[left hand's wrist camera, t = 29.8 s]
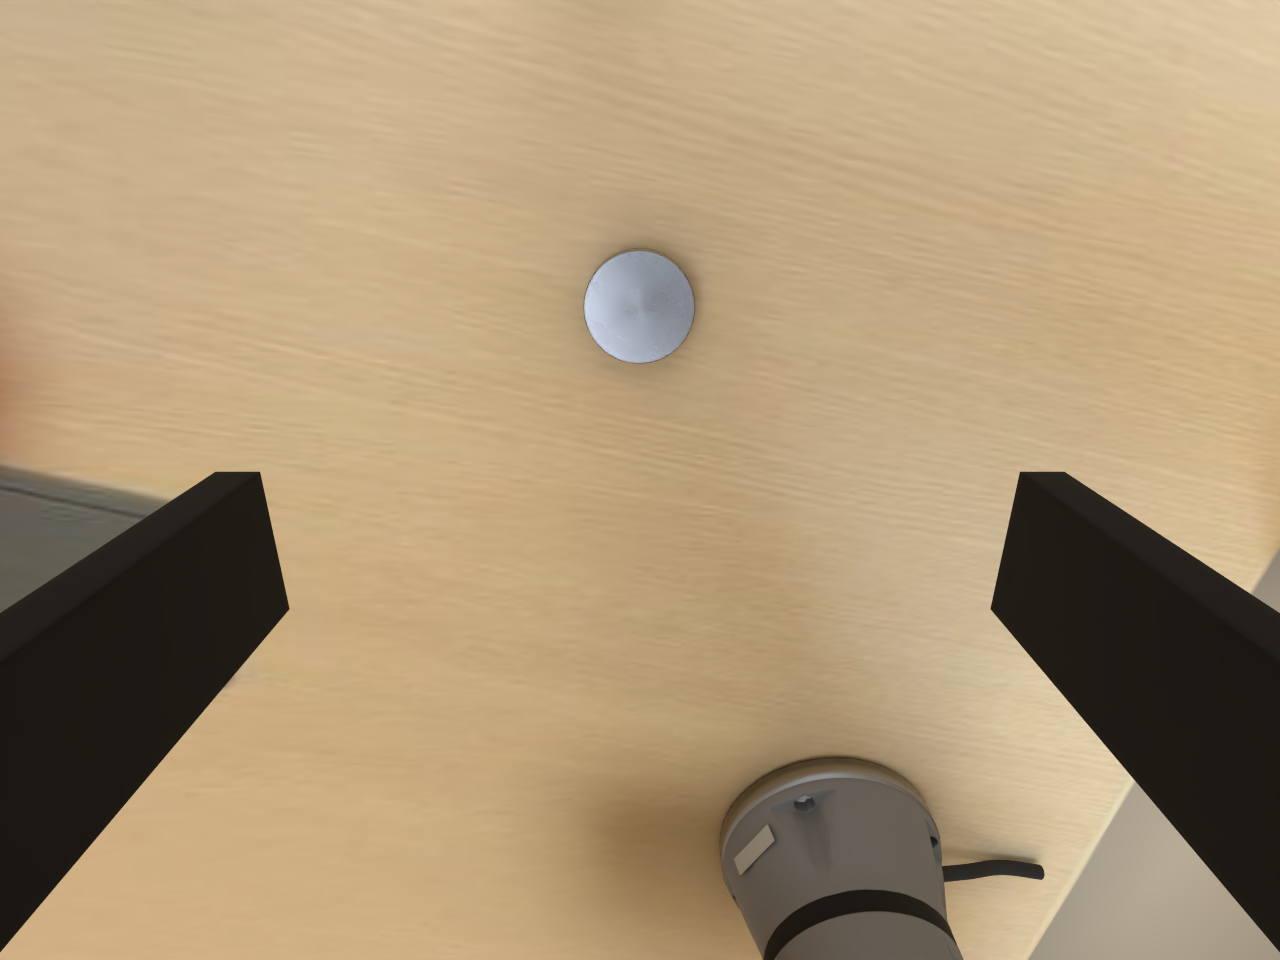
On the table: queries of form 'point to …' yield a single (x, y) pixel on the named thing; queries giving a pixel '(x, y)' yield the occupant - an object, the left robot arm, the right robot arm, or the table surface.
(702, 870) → the table surface
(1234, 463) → the table surface
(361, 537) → the table surface
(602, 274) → the lid
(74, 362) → the table surface
